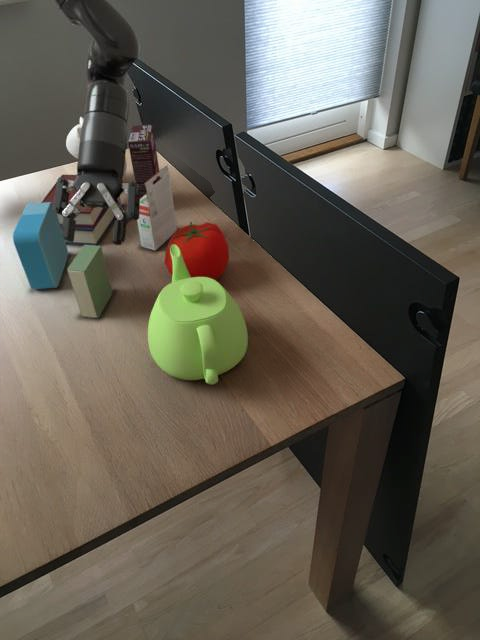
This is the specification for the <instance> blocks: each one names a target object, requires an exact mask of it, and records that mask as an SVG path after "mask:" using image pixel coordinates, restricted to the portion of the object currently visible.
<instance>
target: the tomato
mask: <svg viewBox="0 0 480 640" xmlns="http://www.w3.org/2000/svg"><path fill="white" fill-rule="evenodd" d="M189 222H190V224H188V225H186V226H184V227H180V228H179V229H177V231H176V232H175V233H174V234H173V235H172V236H171V237H170V238H169V239H170V240H169V242H168V245H167V248H166V249H165V256H164V264H165V267H166V269H167V271H168V273H169V275H170V276H171V277H172V274H173V263H172V257H171V253H170V246H171V245H173V244H175V245H177V246H178V248H179V249H180V251H181V254H182V257H183V260H184V263H185V265H186V268H187V270H188V272H189V275H190V277H191V278H192V277H208V278H211V279H213V280H215V281H217V280H218V279H219V278H220V277H221V276H222V275H223V274H224V272H225V270H226V269H227V267H228V264H229V260H230V251H229V250H230V249H229V248H230V247H229V245H228V243H227V240H226V236H225V234H224V232H223V231H222V229H221V228H220V227H219V226H218V224H216V223H212V222H205V223H202V224H193V222H192V221H191V220H190V221H189Z"/></svg>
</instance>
